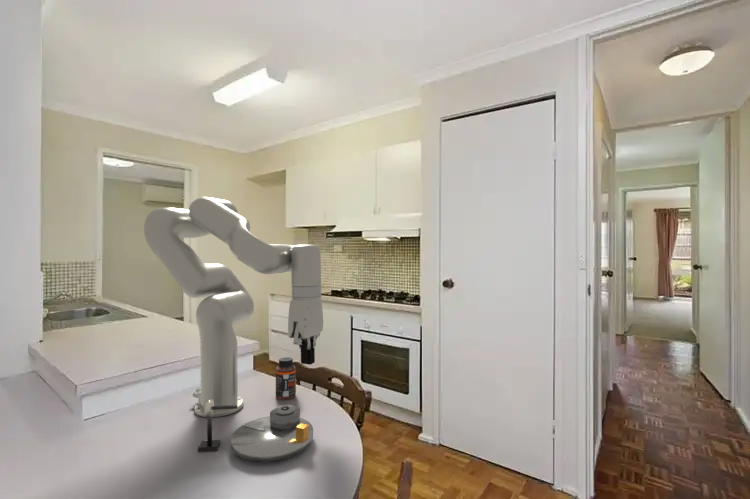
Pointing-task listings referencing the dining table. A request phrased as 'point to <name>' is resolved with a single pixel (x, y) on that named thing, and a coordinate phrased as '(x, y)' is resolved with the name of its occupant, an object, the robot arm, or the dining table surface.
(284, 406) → the cover
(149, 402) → the dining table surface
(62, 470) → the dining table surface
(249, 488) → the dining table surface
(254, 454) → the turntable
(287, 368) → the supplement bottle
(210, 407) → the stand
